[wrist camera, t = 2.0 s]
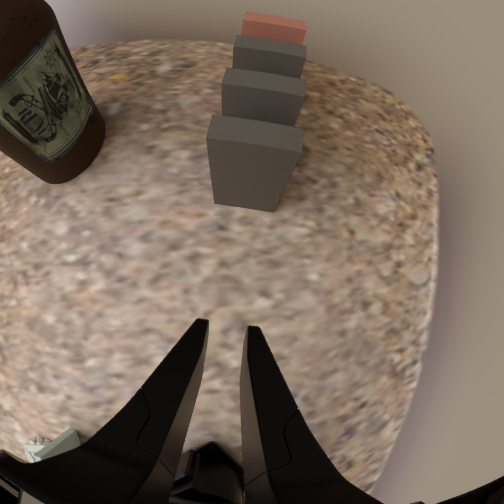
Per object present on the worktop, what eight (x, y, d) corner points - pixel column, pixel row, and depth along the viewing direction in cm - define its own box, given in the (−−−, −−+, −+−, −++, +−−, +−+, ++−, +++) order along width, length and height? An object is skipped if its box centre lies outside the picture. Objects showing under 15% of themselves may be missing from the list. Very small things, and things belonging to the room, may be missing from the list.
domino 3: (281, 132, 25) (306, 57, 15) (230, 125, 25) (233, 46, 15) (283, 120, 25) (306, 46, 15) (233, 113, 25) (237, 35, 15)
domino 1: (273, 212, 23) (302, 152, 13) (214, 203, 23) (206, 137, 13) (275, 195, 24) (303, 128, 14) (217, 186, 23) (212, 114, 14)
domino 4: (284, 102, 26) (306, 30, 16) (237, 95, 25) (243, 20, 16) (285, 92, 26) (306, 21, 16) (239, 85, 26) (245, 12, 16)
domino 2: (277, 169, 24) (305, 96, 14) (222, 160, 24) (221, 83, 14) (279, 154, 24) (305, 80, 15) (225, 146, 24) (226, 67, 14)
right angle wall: (78, 428, 19) (40, 457, 11) (110, 508, 17) (89, 544, 9) (5, 407, 17) (-33, 421, 10) (35, 484, 15) (8, 507, 8)
